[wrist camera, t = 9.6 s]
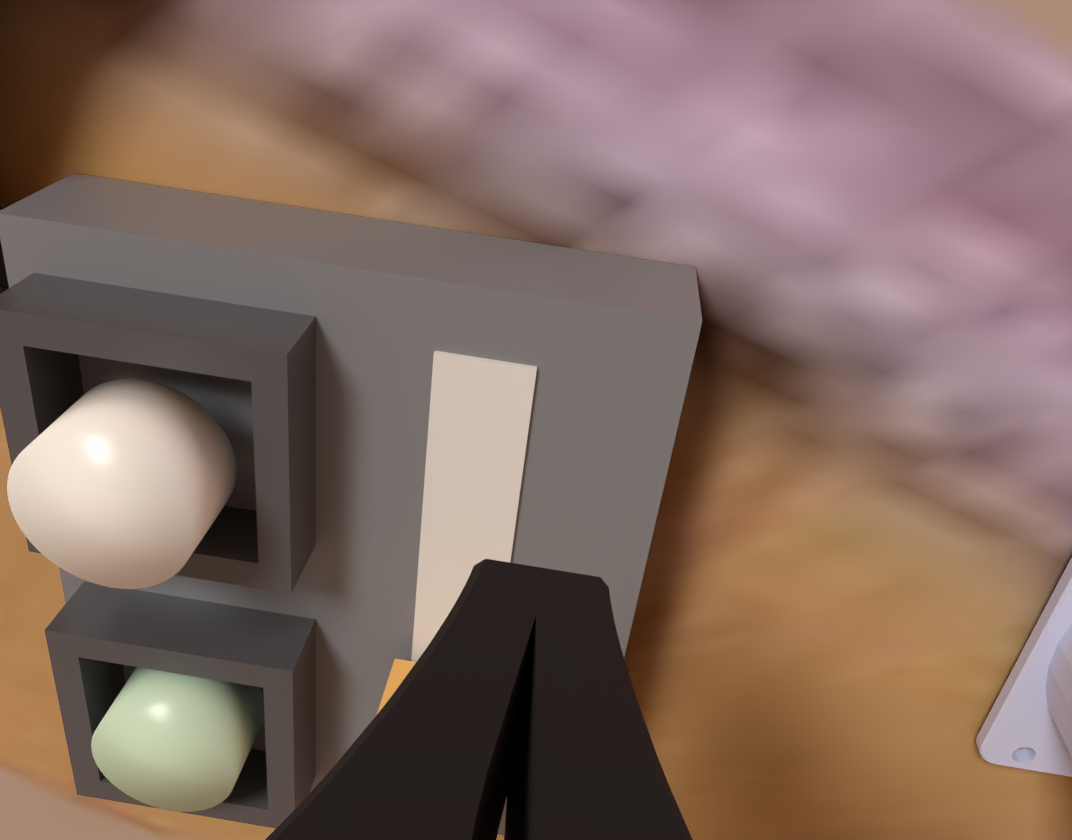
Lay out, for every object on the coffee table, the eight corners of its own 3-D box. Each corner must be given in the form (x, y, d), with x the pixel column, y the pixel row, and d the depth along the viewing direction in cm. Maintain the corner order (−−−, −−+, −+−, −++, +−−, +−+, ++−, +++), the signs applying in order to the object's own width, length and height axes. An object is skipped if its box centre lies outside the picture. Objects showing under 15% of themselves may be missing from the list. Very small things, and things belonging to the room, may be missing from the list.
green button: (264, 658, 20) (231, 724, 18) (267, 753, 21) (238, 822, 20) (126, 635, 20) (82, 700, 18) (139, 732, 21) (100, 798, 20)
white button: (232, 393, 15) (187, 450, 14) (240, 536, 17) (199, 601, 15) (57, 365, 16) (-8, 419, 14) (80, 510, 17) (22, 573, 16)
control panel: (695, 267, 18) (708, 361, 14) (585, 763, 25) (576, 906, 21) (74, 173, 18) (-63, 242, 14) (142, 689, 25) (62, 819, 22)
